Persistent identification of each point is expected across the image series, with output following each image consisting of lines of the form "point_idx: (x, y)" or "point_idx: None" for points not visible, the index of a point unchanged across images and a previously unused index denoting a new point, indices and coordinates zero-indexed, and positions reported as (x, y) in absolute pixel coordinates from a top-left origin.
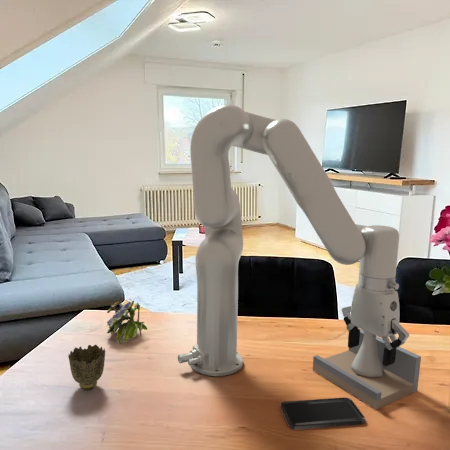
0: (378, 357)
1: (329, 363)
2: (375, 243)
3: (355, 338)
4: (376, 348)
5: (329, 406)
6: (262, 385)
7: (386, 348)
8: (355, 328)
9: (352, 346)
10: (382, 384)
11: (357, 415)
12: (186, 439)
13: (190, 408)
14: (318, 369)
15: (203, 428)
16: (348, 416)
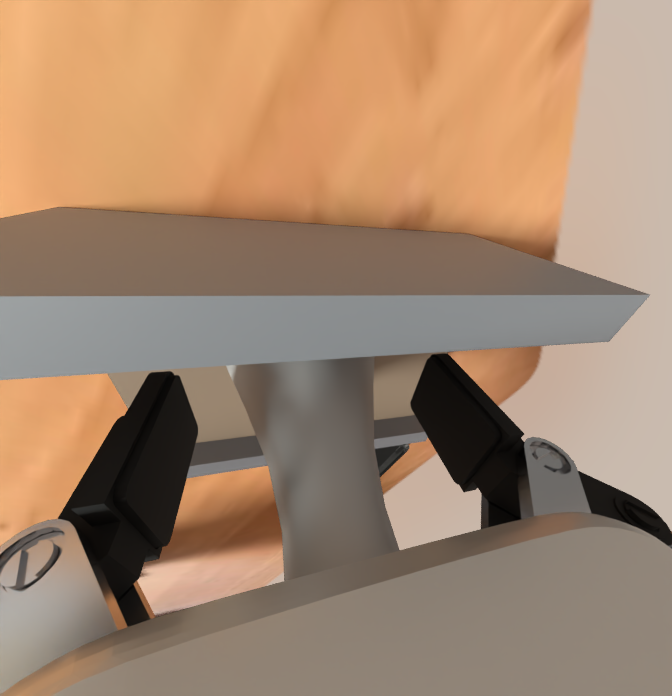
0: (368, 385)
1: (228, 465)
2: None
3: (171, 457)
4: (370, 432)
5: None
6: (202, 519)
7: (474, 486)
8: (121, 567)
9: (193, 423)
10: (395, 369)
11: (392, 448)
12: (282, 566)
13: (225, 570)
14: None
15: (274, 560)
16: (382, 458)
